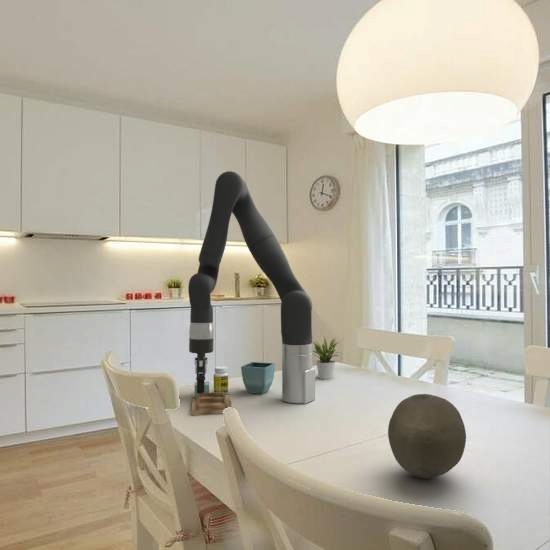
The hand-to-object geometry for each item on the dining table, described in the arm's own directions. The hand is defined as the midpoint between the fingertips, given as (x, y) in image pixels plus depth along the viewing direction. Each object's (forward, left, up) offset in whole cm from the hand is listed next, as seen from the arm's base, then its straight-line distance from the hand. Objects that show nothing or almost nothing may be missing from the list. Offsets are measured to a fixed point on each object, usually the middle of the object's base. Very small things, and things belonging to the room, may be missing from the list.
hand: (200, 390), depth 142 cm
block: (0, -1, -2) cm, 3 cm away
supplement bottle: (-2, -8, -3) cm, 9 cm away
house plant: (-21, -48, -3) cm, 52 cm away
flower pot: (-11, -16, -3) cm, 19 cm away
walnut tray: (-10, +6, -2) cm, 12 cm away
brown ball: (-75, +21, -3) cm, 78 cm away
